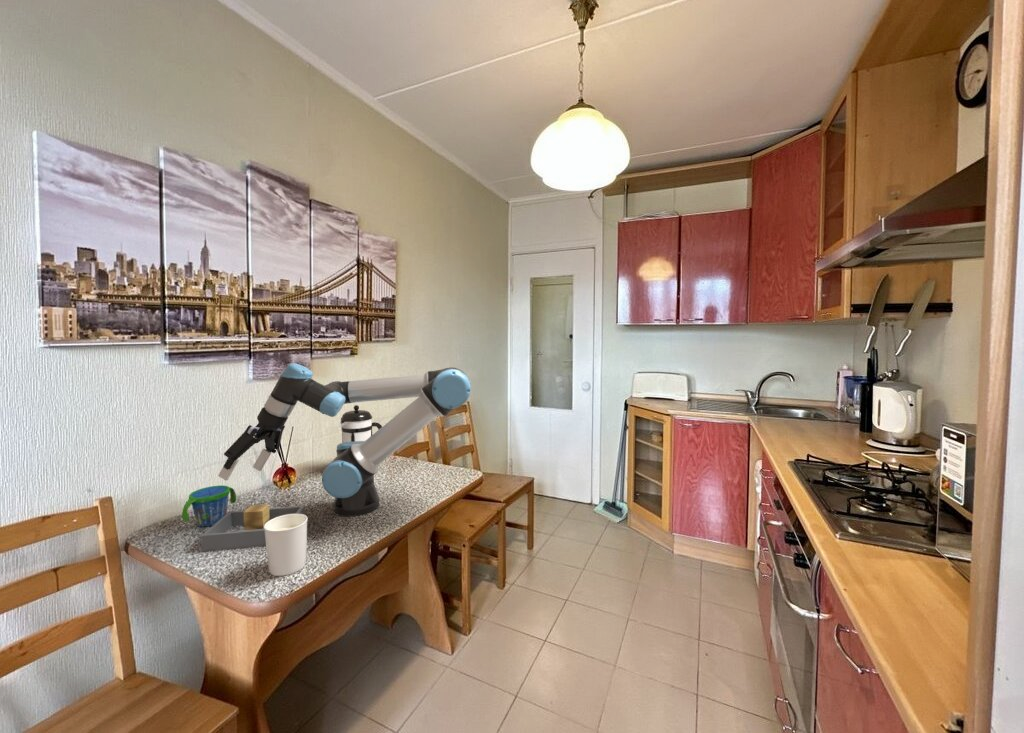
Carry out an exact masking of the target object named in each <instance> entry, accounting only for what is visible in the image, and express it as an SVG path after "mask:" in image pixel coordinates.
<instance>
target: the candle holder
mask: <svg viewBox="0 0 1024 733" xmlns="http://www.w3.org/2000/svg"><path fill="white" fill-rule="evenodd" d="M308 518H309V517H308V516H307V515H306V514H305V515H303V514H287V515H283V516H279V517H276V518H274V519H271V520H270V521H268V522H267V523H266V524H265V525H264V532H265V541H266V546H265V548H266V557H267V564H268V571H269V574H270V575H272V576H274V577H282V576H283V577H284V576H288V575H292V574H294V573H297V572H299V571H300V570H302V569H303V568H304V567H305V565H307V564H306V563H307V550H308V548H307V546H308V543H307V541H308Z"/></svg>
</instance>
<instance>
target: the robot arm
mask: <svg viewBox="0 0 1024 733" xmlns="http://www.w3.org/2000/svg"><path fill="white" fill-rule="evenodd" d="M313 374H314V373H313V371H312V370H311V369H310V368H308V367H306V366H304V365H301V364H299V363H294V362H292V363H289V364H287V366H286V367H285V368H284V370H283V372H282V373H281V374H280V376H279V378H278V380H277V381H276V383H275V384H274V385H275V386H274V387H273V389H272V391H271V393H270V394H269V395H268V398H267V400H266V401H265V403H264V404H263V407H262V408H261V409H260V411H259V413H258V415H257V416H256V417H257V418H256V419H257V421H258V423H257V424H256V425H255V426H253V425H248V426H247V427H246V429H245V430H244V432H243V433H242V434H241V435H240V436H239V437H238V438H237V439H236V440H235V441H234V442H233V443H232V444H231V446H230V447H228V449H227V450H225V452H224V453H223V455H224V456H225V457H227V458H226V461H225V462H224V464H223V466H222V468H221V470H220V472H219V473H218V475H217V477H219V478H221V479H222V480H224V481H225V482H226V481H228V480H229V479H230V477H231V475H232V474H233V471H234V470H235V468H236V466H237V465H238V463H239V461H240V459H239V458H241V457H242V456H243V455H244V454H245V453H246V452H247V451H249V449H251V448H252V447H253V446H254V445H256V444H259V443H260V442H261V441H264V446H265V447H264V448H262V449H261V451H260V453H259V455H258V457H257V458H256V461H255V462H254V463H253V466H252V468H253V469H255V470H257V471H258V472H261V471H262V470H263V468H264V466H265V465H266V463H267V461H268V459H269V458H270V456H271V454H272V453H273V454H276V453H277V450H279V448H280V445H281V441H282V438H283V437H282V436H283V432H284V430H285V427H286V425H285V424H286V422H287V420H288V418H289V416H290V415H291V414H292V412H293V410H294V408H295V406H296V405H297V402H300V403H302V404H304V405H305V406H308V407H310V408H312V409H314V410H315V411H317V412H319V413H321V414H322V415H325V416H328V417H331V418H333V417H336V416H337V415H338V414H339V413H340V411H341V409H342V408H343V406H344V405H346V404H353V403H363V402H364V403H365V402H366V403H367V402H375V401H376V402H377V401H387V400H388V401H389V400H398V399H399V400H400V399H406V398H407V399H409V398H416V399H414V401H412V402H411V403H409V405H407V406H406V407H405V408H404V409H402V410H401V411H400V412H399V413H398V414H396V415H395V416H394V417H393V418H392V419H390V420H388V422H387V423H385V424H384V425H383V426H382V428H380V429H379V430H378V429H377V431H375V432H374V433H372V436H370V437H369V438H368V439H367V440H366V441H354V442H345V443H342V442H341V443H338V445H336V451H335V452H336V456H335V457H334V459H333V460H332V461H331V462H330V463H329V464H327V465H326V466H325V468H324V470H323V472H322V474H321V475H322V476H321V484H322V487H323V489H324V490H325V491H326V493H328V494H329V495H330V496H332V497H334V501H333V504H332V505H333V506H332V507H333V508H332V511H333V513H334V514H335V515H337V516H340V517H355V516H362V515H366V514H368V513H372V512H373V511H375V510H377V509H378V508H379V507H380V504H381V500H380V495H379V493H378V490H377V488H376V484H375V479H374V478H375V477H374V476H375V475H376V474H377V473H378V471H379V465H380V464H382V463H383V462H385V461H386V459H388V458H389V457H390V456H391V455H393V454H394V453H395V452H396V451H398V450H399V449H400V448H401V447H402V446H404V445H405V444H406V443H407V442H408V441H410V440H411V439H412V438H413V437H415V436H416V435H417V434H419V433H420V431H422V430H423V429H425V427H426V426H428V425H429V424H430V423H432V422H433V421H434V420H435V419H436V418H438V417H444V418H445V417H446V416H447V415H448V414H450V413H451V412H452V411H453V410H455V409H457V408H459V407H461V406H463V405H464V404H465V403H466V402H467V401H468V399H469V397H470V396H471V388H472V387H471V386H472V385H471V382H470V379H469V377H467V374H466V373H465V372H464V371H463V370H461V369H459V368H457V367H446V368H441V369H437V370H429V371H426V372H425V373H424V374H416V375H407V376H405V375H403V376H394V377H392V376H391V377H382V378H371V379H360V380H359V379H357V380H349V381H341V380H335V381H331V382H329V383H327V384H325V385H324V384H321V383H319V382H318V381H316V380H314V379H313Z"/></svg>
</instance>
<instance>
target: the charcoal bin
mask: <svg viewBox="0 0 1024 733" xmlns="http://www.w3.org/2000/svg"><path fill="white" fill-rule="evenodd" d="M246 510H247V509H245V510H235V511H234V510H231V511H227V514H226V515H225V516H223V517H222V518H221V519H220V520H219V521H218V522H216V523H215V524H214V525H211V527H210V528H208V529H207V530H206V531H205V532H204V533H203V534H202V535H200V542H201V545H200V546H201V547H200V548H201V552H202V551H204V552H215V551H221V550H222V551H223V550H234V549H235V550H236V549H244V548H245V549H246V548H253V547H254V548H255V547H262V546H263V547H264V546H265V547H266V541H265V532H264V529H256V530H245V531H244V530H237V531H236V530H235V531H229V530H230V529H231V528H232V527H241V526H244V512H245V511H246ZM287 514H303V515H306V504H305V505H295V506H281V507H280V506H279V507H269V515H270V520H271V519H274V518H276V517H279V516H283V515H287Z"/></svg>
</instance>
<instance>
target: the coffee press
mask: <svg viewBox="0 0 1024 733" xmlns="http://www.w3.org/2000/svg"><path fill="white" fill-rule="evenodd" d="M359 409H360V407H359V405H356V404H355V405H353V410H348V411H346V412H344V413H343V414H342V415H341V417H340V422H339V427H341V430H340V431H341V443H345V442H354V441H366V440H367V439H368V438H369V437H370V436H372V435H373V428H374V427H376V428H377V431H378V430H379V429H380V428H382V427H383V426H382V425H381V423H380V422H376V421H375V422H372V420H373V415H372V413H370V411H368V410H365V409H360V410H359Z"/></svg>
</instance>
